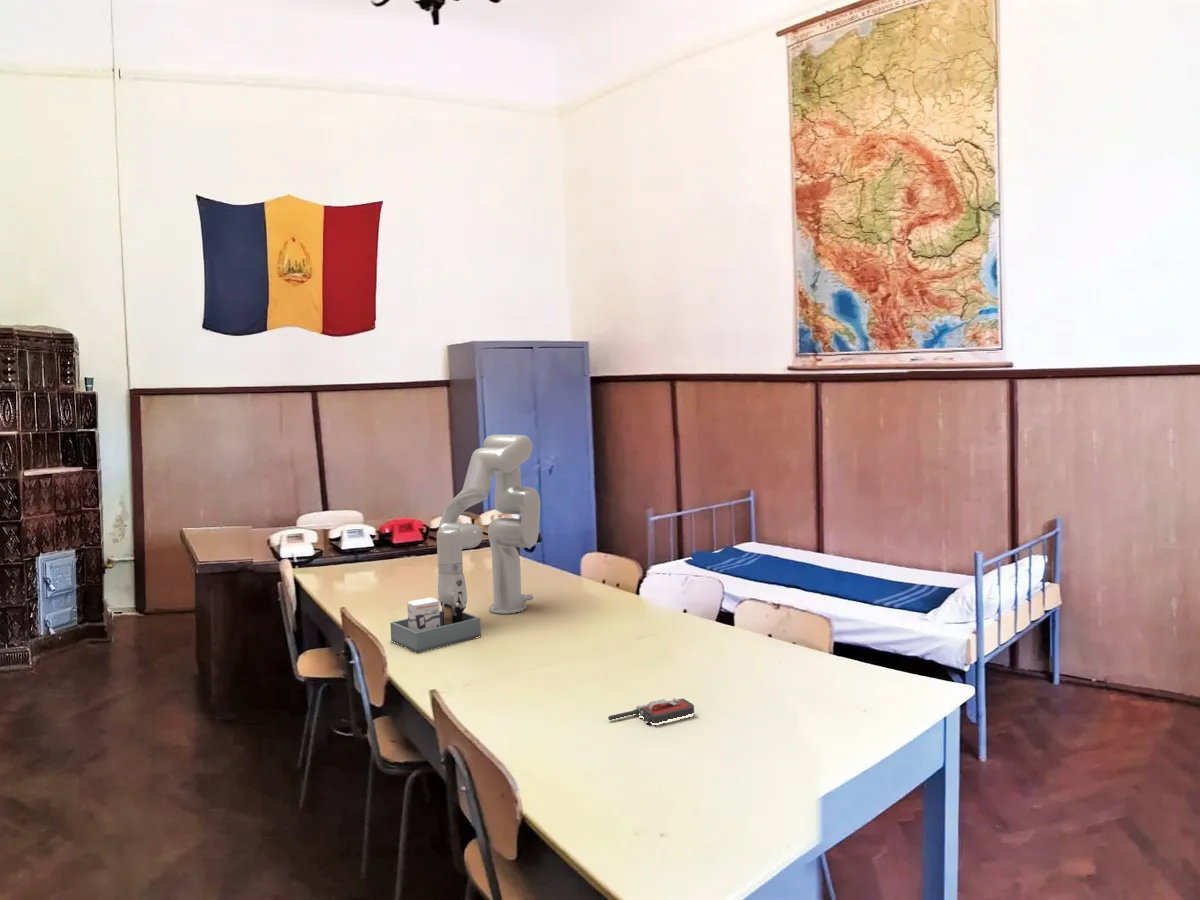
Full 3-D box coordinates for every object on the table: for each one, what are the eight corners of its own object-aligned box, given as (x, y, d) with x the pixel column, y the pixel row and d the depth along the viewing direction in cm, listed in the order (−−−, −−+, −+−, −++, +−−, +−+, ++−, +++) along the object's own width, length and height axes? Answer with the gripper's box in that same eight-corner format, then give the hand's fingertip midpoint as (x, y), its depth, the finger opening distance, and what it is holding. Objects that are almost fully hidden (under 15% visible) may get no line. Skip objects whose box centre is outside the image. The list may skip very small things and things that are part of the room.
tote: (453, 626, 280) (452, 608, 280) (481, 637, 268) (480, 617, 268) (391, 641, 266) (390, 622, 265) (417, 653, 254) (416, 633, 253)
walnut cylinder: (455, 625, 274) (454, 604, 274) (464, 629, 270) (463, 607, 270) (441, 629, 271) (440, 607, 270) (450, 632, 267) (449, 610, 266)
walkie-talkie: (680, 705, 210) (606, 722, 201) (679, 687, 210) (605, 703, 201) (700, 717, 202) (624, 735, 194) (699, 699, 202) (624, 716, 193)
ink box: (415, 643, 260) (413, 604, 259) (408, 639, 264) (406, 601, 263) (441, 638, 265) (439, 600, 264) (434, 634, 269) (432, 596, 268)
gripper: (475, 570, 265) (478, 628, 267) (446, 562, 278) (449, 617, 279) (454, 574, 260) (457, 634, 262) (425, 565, 273) (428, 622, 275)
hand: (452, 625), depth 271 cm, fingers closed on walnut cylinder, 4 cm apart
